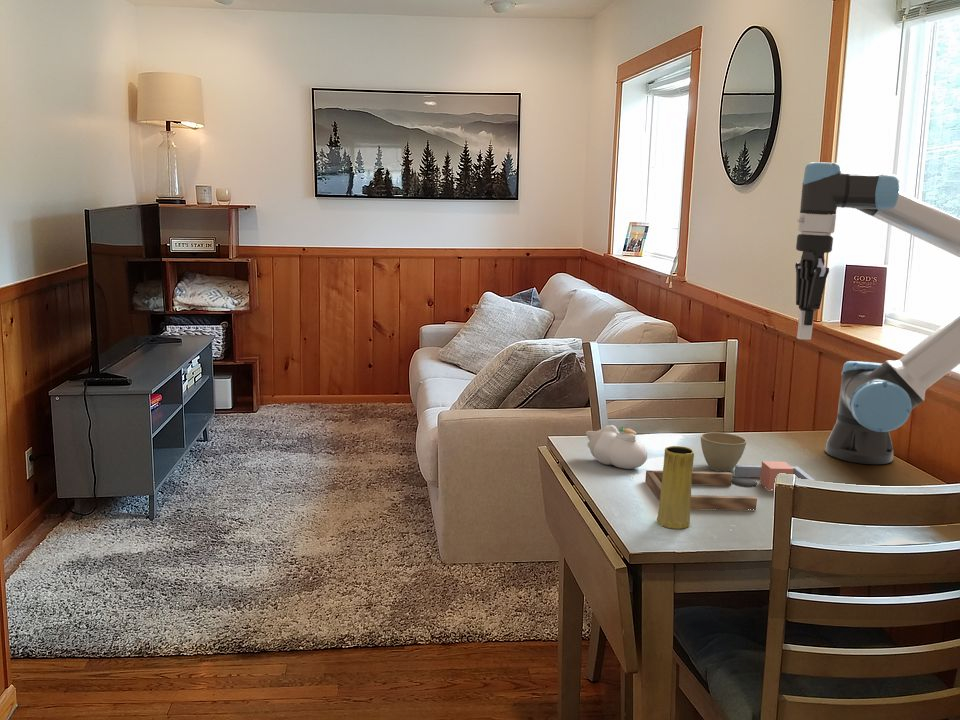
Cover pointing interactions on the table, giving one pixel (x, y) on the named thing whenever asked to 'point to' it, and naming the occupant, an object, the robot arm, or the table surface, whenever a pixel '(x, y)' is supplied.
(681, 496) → the vase
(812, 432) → the table surface
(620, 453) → the white rounded lumpy piece
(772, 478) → the cube
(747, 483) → the hole marker
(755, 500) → the wooden frame
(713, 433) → the beige bowl
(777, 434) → the table surface
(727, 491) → the table surface
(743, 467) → the bay
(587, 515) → the table surface
